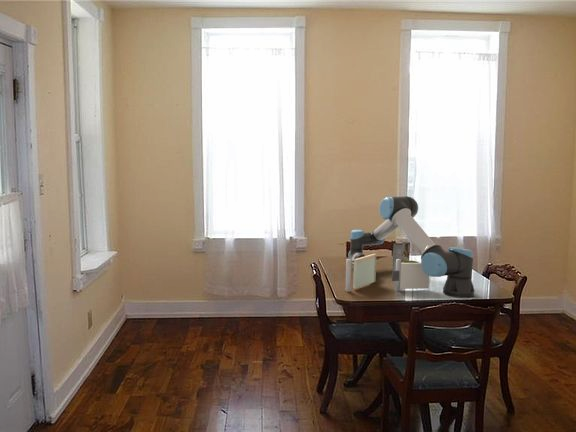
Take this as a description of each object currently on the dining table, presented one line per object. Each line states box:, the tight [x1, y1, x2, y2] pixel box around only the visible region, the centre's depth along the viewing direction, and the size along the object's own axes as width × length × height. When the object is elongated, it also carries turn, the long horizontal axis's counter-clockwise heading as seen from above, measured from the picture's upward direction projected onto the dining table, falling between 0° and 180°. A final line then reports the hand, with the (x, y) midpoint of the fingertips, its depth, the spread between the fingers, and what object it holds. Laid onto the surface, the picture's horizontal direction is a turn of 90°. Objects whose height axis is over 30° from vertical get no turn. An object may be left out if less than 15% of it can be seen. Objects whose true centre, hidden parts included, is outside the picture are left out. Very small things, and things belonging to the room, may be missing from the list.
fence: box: [344, 258, 430, 292], centre depth 289 cm, size 3×43×16 cm, turn 97°
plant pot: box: [402, 259, 420, 263], centre depth 319 cm, size 9×9×9 cm
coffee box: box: [391, 240, 411, 271], centre depth 338 cm, size 9×6×16 cm
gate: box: [352, 253, 377, 290], centre depth 296 cm, size 20×2×15 cm, turn 142°
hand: (371, 269), depth 304 cm, fingers closed
